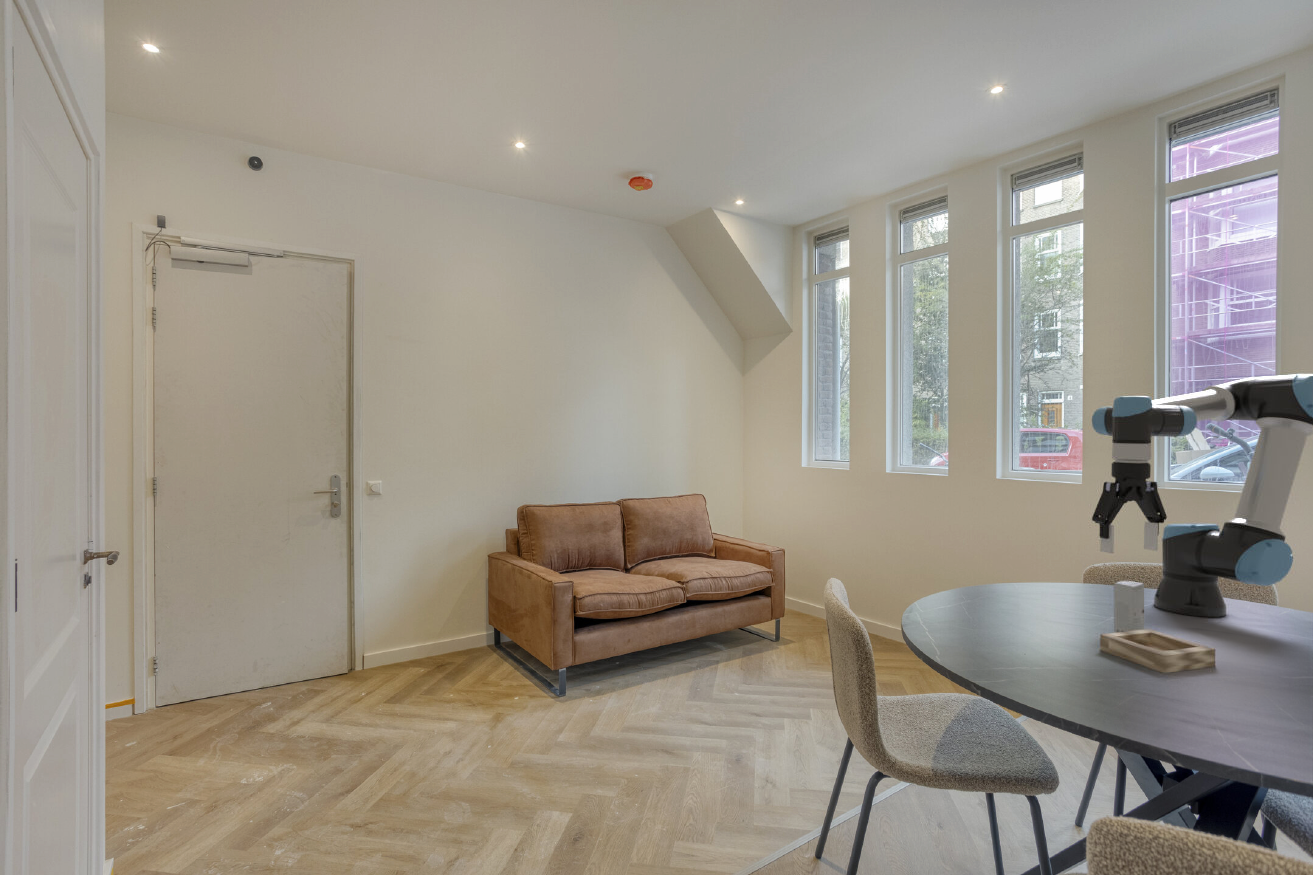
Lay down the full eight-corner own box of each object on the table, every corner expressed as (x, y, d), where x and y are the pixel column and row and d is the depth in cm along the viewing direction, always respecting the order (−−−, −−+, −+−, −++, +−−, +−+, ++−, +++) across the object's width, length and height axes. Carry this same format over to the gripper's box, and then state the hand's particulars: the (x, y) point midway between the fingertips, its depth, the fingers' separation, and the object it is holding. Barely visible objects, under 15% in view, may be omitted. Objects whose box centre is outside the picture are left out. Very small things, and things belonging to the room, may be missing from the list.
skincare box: (1134, 638, 154) (1134, 586, 154) (1112, 633, 158) (1113, 582, 158) (1145, 633, 158) (1146, 583, 158) (1123, 628, 162) (1124, 579, 161)
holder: (1148, 644, 150) (1148, 628, 150) (1215, 665, 137) (1215, 649, 137) (1100, 650, 147) (1100, 634, 147) (1164, 673, 133) (1164, 655, 133)
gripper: (1154, 460, 164) (1153, 545, 165) (1075, 461, 157) (1073, 550, 158) (1186, 461, 157) (1184, 551, 157) (1104, 462, 150) (1102, 556, 150)
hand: (1129, 551), depth 158 cm, fingers open, 13 cm apart
